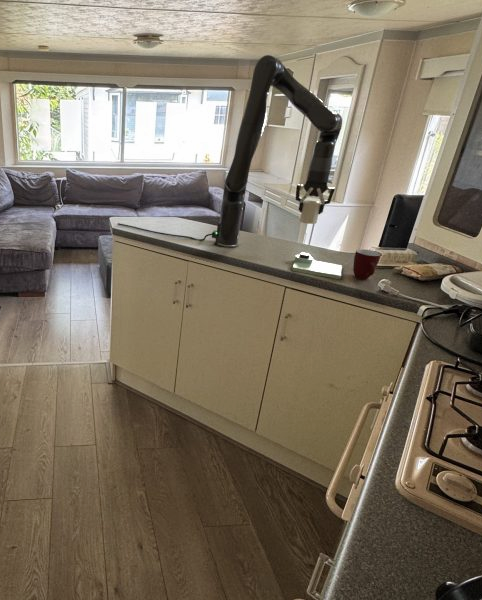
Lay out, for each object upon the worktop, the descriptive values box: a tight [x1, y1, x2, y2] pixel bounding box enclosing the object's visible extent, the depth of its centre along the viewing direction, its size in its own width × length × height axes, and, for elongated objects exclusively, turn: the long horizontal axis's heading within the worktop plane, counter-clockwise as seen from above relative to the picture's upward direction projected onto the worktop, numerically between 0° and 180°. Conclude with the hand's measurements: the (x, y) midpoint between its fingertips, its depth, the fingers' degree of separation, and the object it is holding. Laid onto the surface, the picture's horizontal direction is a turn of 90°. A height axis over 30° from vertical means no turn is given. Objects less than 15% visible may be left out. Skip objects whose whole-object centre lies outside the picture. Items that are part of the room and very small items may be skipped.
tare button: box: [299, 252, 311, 259], centre depth 172 cm, size 4×4×2 cm
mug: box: [352, 248, 382, 281], centre depth 158 cm, size 10×8×10 cm
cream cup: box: [299, 199, 321, 225], centre depth 170 cm, size 6×6×8 cm
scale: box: [291, 254, 343, 280], centre depth 168 cm, size 17×14×3 cm
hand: (310, 212), depth 171 cm, fingers closed on cream cup, 6 cm apart
